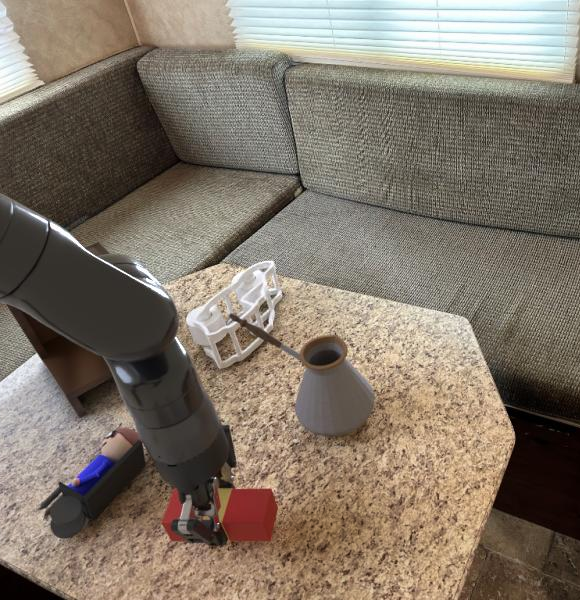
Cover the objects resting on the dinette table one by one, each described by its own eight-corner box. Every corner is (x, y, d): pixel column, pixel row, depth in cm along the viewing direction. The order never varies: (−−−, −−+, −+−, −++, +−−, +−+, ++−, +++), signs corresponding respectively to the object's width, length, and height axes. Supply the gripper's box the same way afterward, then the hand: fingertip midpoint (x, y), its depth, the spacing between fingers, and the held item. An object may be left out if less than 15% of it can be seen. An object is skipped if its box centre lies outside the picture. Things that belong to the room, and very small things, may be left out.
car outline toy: (259, 285, 114) (250, 253, 110) (305, 301, 110) (298, 268, 105) (181, 353, 102) (167, 320, 97) (230, 373, 97) (218, 340, 92)
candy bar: (171, 542, 72) (160, 523, 69) (184, 507, 75) (173, 488, 73) (270, 542, 71) (263, 523, 68) (278, 507, 74) (271, 487, 72)
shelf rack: (79, 418, 92) (26, 335, 81) (45, 366, 102) (-6, 287, 91) (175, 362, 100) (139, 280, 89) (135, 319, 110) (98, 241, 99)
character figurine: (47, 534, 77) (135, 447, 87) (83, 555, 74) (171, 461, 84) (15, 498, 73) (112, 409, 83) (52, 518, 69) (149, 423, 79)
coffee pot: (390, 398, 90) (379, 322, 80) (352, 457, 82) (335, 381, 73) (273, 361, 98) (251, 288, 89) (229, 412, 90) (199, 338, 81)
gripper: (170, 380, 68) (211, 472, 79) (118, 491, 57) (175, 581, 67) (235, 379, 67) (268, 471, 78) (196, 491, 56) (240, 581, 67)
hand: (224, 521), depth 73 cm, fingers closed on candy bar, 4 cm apart
